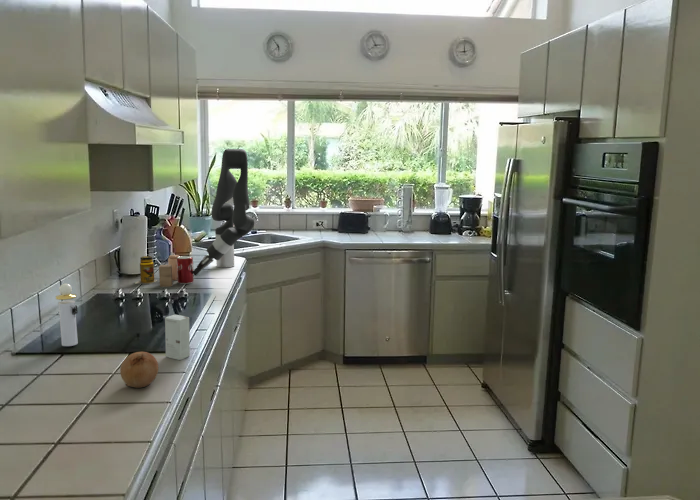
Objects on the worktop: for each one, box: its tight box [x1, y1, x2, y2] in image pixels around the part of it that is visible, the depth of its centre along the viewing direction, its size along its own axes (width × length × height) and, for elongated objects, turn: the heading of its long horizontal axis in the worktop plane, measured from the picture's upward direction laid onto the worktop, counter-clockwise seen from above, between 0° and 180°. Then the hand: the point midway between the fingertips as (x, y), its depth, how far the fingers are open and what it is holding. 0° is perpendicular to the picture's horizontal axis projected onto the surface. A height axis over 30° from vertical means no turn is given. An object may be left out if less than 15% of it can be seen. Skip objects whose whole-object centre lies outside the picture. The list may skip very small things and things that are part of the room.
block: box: [158, 264, 174, 288], centre depth 272 cm, size 5×5×9 cm
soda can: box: [176, 255, 195, 285], centre depth 278 cm, size 7×7×12 cm
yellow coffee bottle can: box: [135, 255, 159, 285], centre depth 279 cm, size 7×8×12 cm
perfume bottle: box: [55, 283, 79, 347], centre depth 187 cm, size 6×6×20 cm
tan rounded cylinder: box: [167, 254, 180, 281], centre depth 286 cm, size 6×6×11 cm
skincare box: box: [164, 314, 191, 361], centre depth 178 cm, size 6×4×12 cm
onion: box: [119, 351, 159, 389], centre depth 157 cm, size 10×9×10 cm
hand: (194, 273), depth 277 cm, fingers closed
